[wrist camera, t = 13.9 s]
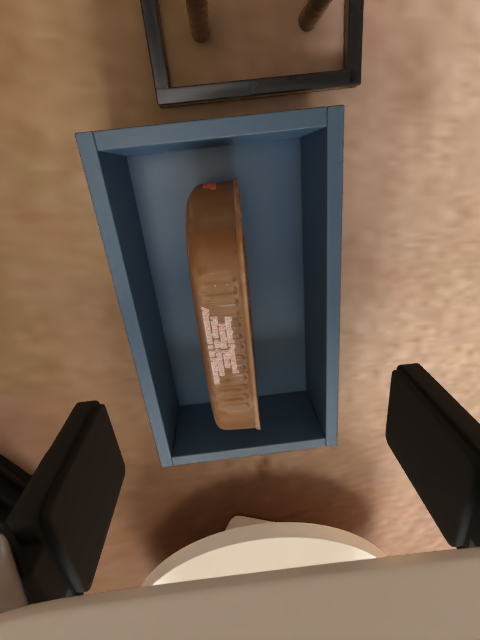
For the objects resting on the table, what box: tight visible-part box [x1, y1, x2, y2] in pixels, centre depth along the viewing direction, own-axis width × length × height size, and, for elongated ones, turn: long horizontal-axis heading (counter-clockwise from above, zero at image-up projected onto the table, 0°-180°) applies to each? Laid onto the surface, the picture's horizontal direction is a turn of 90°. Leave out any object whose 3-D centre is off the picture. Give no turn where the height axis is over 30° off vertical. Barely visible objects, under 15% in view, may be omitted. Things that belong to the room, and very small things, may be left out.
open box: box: [75, 105, 344, 467], centre depth 22 cm, size 12×20×6 cm, turn 6°
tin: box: [186, 178, 261, 430], centre depth 20 cm, size 15×3×8 cm, turn 6°
